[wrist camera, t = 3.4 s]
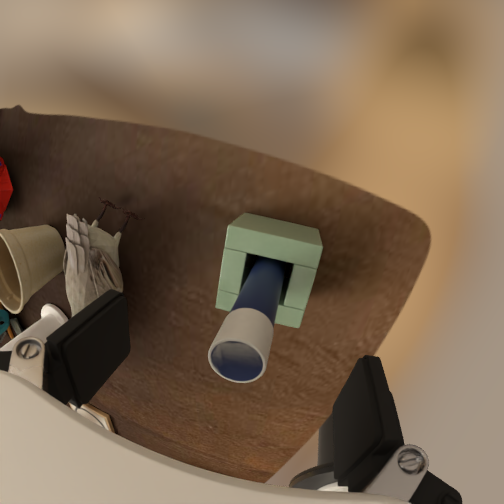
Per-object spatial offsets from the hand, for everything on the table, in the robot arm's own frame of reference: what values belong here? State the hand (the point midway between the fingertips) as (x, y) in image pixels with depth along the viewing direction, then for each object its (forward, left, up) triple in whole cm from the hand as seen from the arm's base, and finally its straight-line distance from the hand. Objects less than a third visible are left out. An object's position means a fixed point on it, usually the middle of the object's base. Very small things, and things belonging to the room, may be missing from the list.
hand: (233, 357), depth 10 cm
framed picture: (+25, +40, -13) cm, 49 cm away
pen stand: (0, 0, -13) cm, 13 cm away
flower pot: (+26, +6, -14) cm, 30 cm away
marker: (0, 0, -13) cm, 13 cm away
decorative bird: (+15, +6, -14) cm, 21 cm away
